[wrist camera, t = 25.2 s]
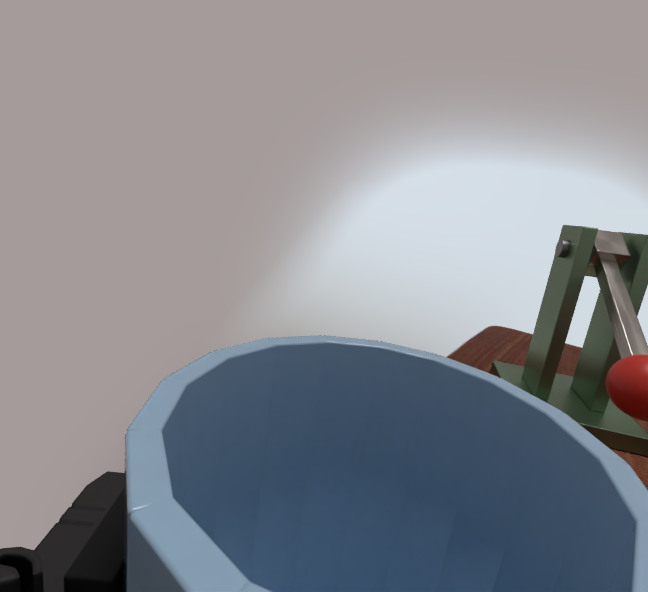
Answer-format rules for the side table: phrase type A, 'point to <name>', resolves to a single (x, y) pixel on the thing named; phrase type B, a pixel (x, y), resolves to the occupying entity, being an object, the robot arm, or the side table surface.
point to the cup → (370, 479)
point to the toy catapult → (599, 347)
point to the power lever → (621, 326)
